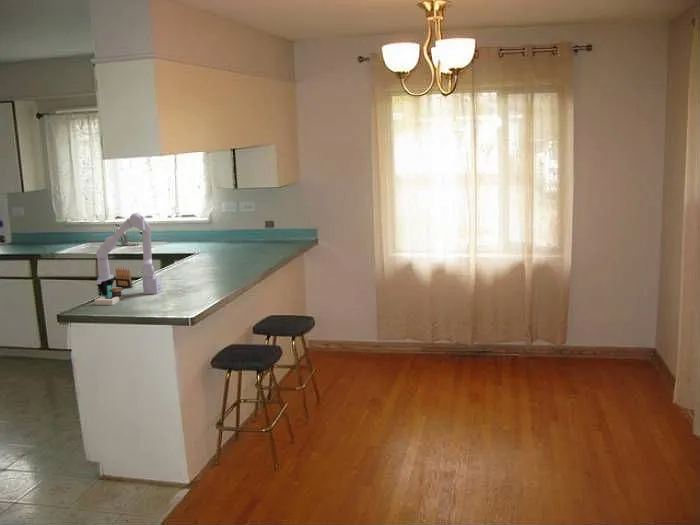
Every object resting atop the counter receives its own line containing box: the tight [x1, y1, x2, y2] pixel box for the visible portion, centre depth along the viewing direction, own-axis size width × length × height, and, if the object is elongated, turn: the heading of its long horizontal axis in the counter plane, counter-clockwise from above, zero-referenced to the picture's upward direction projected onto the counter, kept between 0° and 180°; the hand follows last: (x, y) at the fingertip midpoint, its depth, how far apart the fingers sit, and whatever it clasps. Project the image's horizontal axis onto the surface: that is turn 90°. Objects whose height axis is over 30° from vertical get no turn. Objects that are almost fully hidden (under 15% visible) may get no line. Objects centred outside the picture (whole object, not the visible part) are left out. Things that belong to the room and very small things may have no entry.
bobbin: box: [109, 287, 125, 300], centre depth 372 cm, size 7×7×5 cm
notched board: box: [94, 296, 120, 306], centre depth 363 cm, size 10×7×2 cm
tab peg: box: [100, 285, 112, 299], centre depth 376 cm, size 4×4×6 cm
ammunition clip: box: [115, 266, 134, 289], centre depth 397 cm, size 11×2×12 cm, turn 66°
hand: (106, 294), depth 376 cm, fingers closed on tab peg, 4 cm apart
